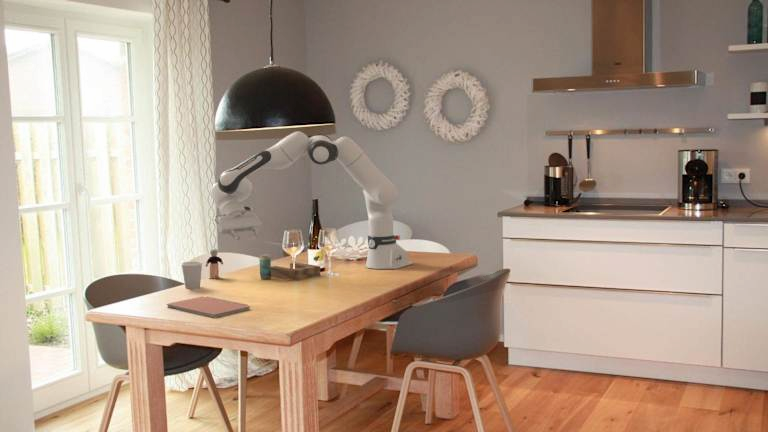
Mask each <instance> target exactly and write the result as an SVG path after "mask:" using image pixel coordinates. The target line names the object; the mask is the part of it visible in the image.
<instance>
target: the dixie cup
mask: <svg viewBox="0 0 768 432" xmlns="http://www.w3.org/2000/svg"><path fill="white" fill-rule="evenodd" d="M180 265H181V269H182V275H183V281H184V287H185V289H186V290H196V289H200V288H201V280H202V270H203V269H202V267H203V262H202V261H199V260H198V261H197V260H196V261H195V260H192V261H183V262H182V263H181V264H180Z"/></svg>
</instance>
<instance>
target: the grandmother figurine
mask: <svg viewBox="0 0 768 432" xmlns="http://www.w3.org/2000/svg"><path fill="white" fill-rule="evenodd" d="M209 252H210V253H209V254H210V255H211V256H210V257H209V258H208V259H207V260H206V263H205V265H204V266H205V267H209V278H208V279H209V280H212V279H214V278H215V279H220V276H219V263H220V264H221V265H224V262H223V259H222V257H220V256H218V253H219V250H218V249H217V248H214V247H213V248H210V251H209Z"/></svg>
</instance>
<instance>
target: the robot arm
mask: <svg viewBox="0 0 768 432" xmlns="http://www.w3.org/2000/svg"><path fill="white" fill-rule="evenodd" d="M305 156H307V157H309V159H310V160H311V162H313V164H316V165H320V166H321V165H322V166H323V165H325V164H329V163H331V162H333V161H336V160H337V161H338V162H339V163H340V164H341V166H342V167H343V169H344V170H345V171H346V172H347V173H348V174H349V176H350V177H351V178H352V179H353V181H355V183H356V184H358V185H359V187H361V188H362V189H363V190H362V193H363V196H364V200H365V206H366V211H367V212H366V213H367V219H368V220H367V221H368V235H367V245H368V247H367V256H366V262H365V267H366V268H368V269H375V270H385V269H386V270H388V269H390V270H392V269H393V270H397V269H401V268H404V267H406V266H410V265H413V264H414V263H413V262H414V261H412V260H408V254H407V253H408V252H407V250H405V249H404V248H403V247H401V246H400V244H398V243H397V241H399V240H400V239H401V236H400V235H397V234H396V235H395V234H394V216H393V213H392V210H391V207H390V206H391V205H392V204H394V203H395V202H396V201H397V199H398V197H399V190H398V189H397V187H396V186H395V184H394V183H393V182H392V181H390V179H389V178H388V177H387V176H386V175H385V174H384V173H383V172H382V171H381V170H380V169H379V168H378V167H377V166H376V165H375V164H374V163H373V161H372V160H371V159H370V158H369V157H368V155H367V154H366V153H365V152H364V151H363V149H362V148H361V147H360V146H359V145H358V144H357V143H356V142H355V141H354V140H353V139H352V138H350V137H349V136H341V137H339V138H337V139H336V140H332V139H331V138H330V137H329V136H328V135H326V134H323V133H321V134H320V133H319V134H312V135H306V133H304V132H302V131H299V130H297V131H294V132H292V133H290V134H288V135H287V136H285V137H283V138H282V139H281V140H280V141H278V142H277V143H275V144H274V145H273V146H271V147H269V148H266V149H265V150H262V151H259V152H258V153H255V154H254V155H252V156H250V157H249V158H247V159H246V160H244V161H243V162H241V163H239V164H238V165H236V166H234V167H232V168H228V169H226V170H224V171H222V172H221V173H220V175H219V176H218V180H217V182H216V183H214V184H213V186H212V187H211V189H210V194H211V197H212V200H213V202H214V204H215V206H216V207H217V209H219V213H220V214H218V215H217V214H216V215H215V216H214V218H213V219H214V222H215V224H216V227H217V230H218V231H219V233H220V234H221V235H229V236H230V237H232V238H234V240H235V241H239V240H240V239H241V236H240V235H239V234H236V233H245V232H252V237H253V239H257V238H258V236H259V234H258V232H257V231H258V230H260V228H261V226H262V221H261V219H260V218H259V217H258V215H257V214H256V213H255V212H253V210H254V208H252V207H251V206H246V205H242V204H240V203H243V202H244V201H246V200H247V199H249V198H250V197H251V196H252V194H253V190H254V186H253V185H254V184H253V183H252V181H251V180H249V179H248V177H249V176H252V174H254V173H255V172H257V171H259V170H262V169H271V170H279V171H280V170H281V171H282V170H285V169H286V168H289V167H290V166H291V165H293V164H294V163H295V162H297V161H298V160H299V159H300V158H303V157H305Z"/></svg>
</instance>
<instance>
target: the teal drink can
mask: <svg viewBox="0 0 768 432" xmlns="http://www.w3.org/2000/svg"><path fill="white" fill-rule="evenodd" d="M270 256H271V255H270V254H266V253H265V254H260V255H259V260H258V261H259V276H260V280H261V281H266V280H267V281H269V280H271V266H272V265H271V264H272V263H271V262H272V261H271V257H270Z"/></svg>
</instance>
